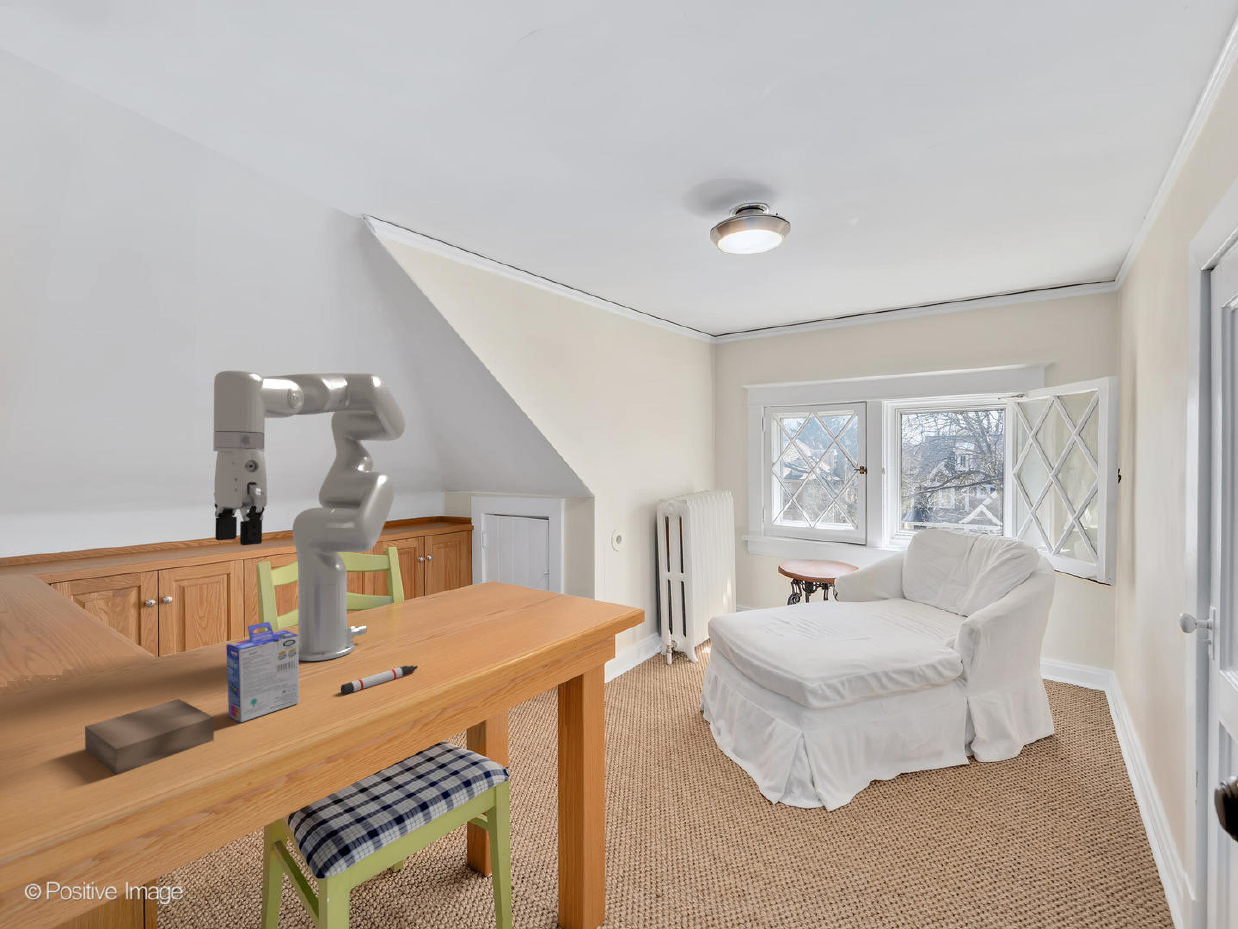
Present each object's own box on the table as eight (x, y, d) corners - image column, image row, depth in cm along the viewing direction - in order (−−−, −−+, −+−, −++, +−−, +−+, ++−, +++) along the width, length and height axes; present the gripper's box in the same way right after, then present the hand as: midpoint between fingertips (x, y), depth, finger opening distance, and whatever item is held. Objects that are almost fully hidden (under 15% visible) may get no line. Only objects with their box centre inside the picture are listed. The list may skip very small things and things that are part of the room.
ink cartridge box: (285, 695, 110) (285, 616, 110) (301, 703, 107) (301, 621, 106) (225, 715, 102) (224, 629, 102) (240, 724, 99) (239, 635, 98)
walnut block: (179, 722, 100) (178, 698, 100) (213, 742, 93) (213, 717, 93) (85, 753, 90) (85, 726, 90) (116, 778, 83) (116, 749, 83)
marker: (345, 697, 111) (345, 686, 110) (340, 694, 112) (340, 683, 112) (420, 673, 122) (420, 663, 122) (414, 670, 124) (414, 661, 124)
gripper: (286, 443, 104) (284, 544, 104) (240, 444, 114) (239, 536, 114) (237, 442, 97) (236, 548, 97) (194, 443, 108) (193, 539, 108)
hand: (238, 541), depth 106 cm, fingers open, 9 cm apart
